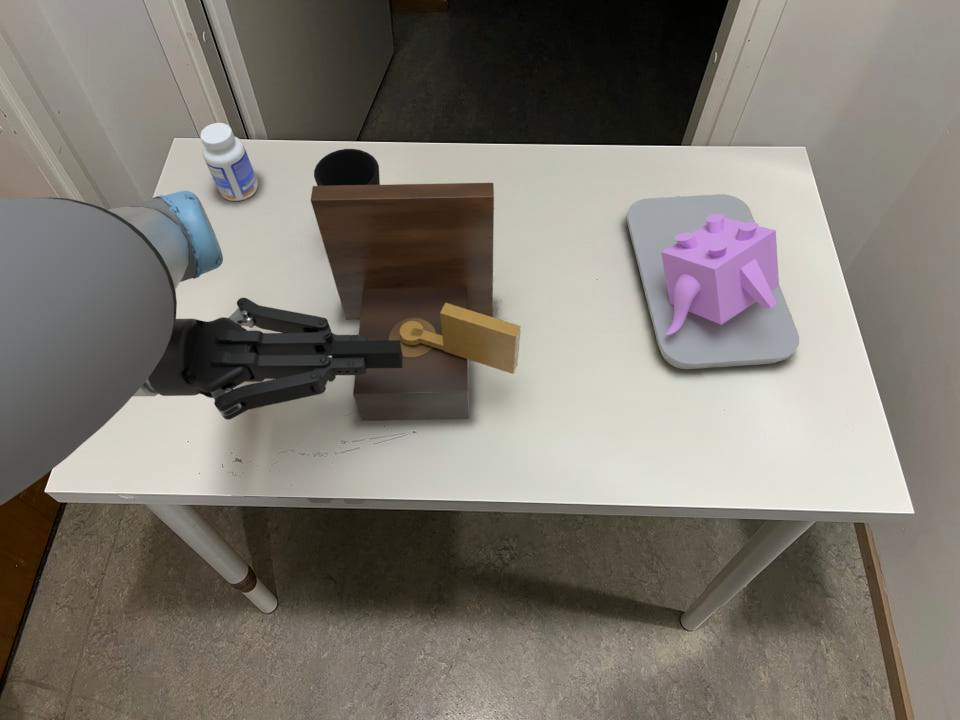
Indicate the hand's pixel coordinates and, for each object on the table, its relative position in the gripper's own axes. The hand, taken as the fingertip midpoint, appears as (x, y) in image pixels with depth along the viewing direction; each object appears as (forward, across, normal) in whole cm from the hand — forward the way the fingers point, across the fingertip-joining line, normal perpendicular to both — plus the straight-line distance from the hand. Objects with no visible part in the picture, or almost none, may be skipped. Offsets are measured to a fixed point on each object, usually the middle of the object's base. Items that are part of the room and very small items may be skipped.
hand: (400, 354), depth 67 cm
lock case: (0, +6, +12) cm, 14 cm away
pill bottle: (-26, +36, +12) cm, 46 cm away
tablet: (+36, +18, +12) cm, 42 cm away
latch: (+5, +4, +6) cm, 9 cm away
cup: (-8, +26, +12) cm, 30 cm away
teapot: (+34, +15, 0) cm, 37 cm away
